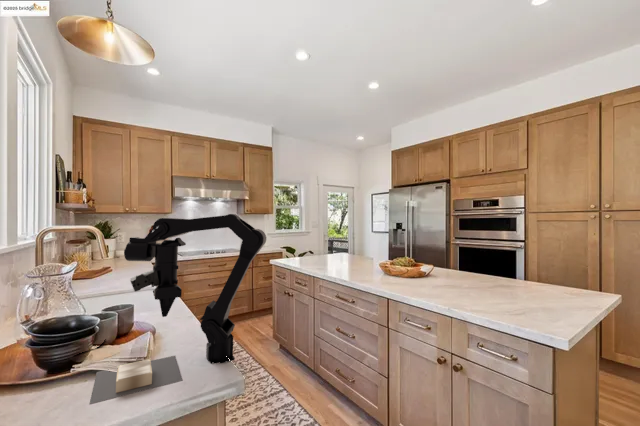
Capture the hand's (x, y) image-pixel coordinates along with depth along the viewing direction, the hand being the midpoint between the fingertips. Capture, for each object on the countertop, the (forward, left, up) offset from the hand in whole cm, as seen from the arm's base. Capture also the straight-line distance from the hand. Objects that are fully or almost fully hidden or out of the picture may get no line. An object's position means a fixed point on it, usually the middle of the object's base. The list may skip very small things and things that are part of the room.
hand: (164, 316), depth 83 cm
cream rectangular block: (+7, +6, -10) cm, 14 cm away
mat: (+6, +9, -12) cm, 16 cm away
